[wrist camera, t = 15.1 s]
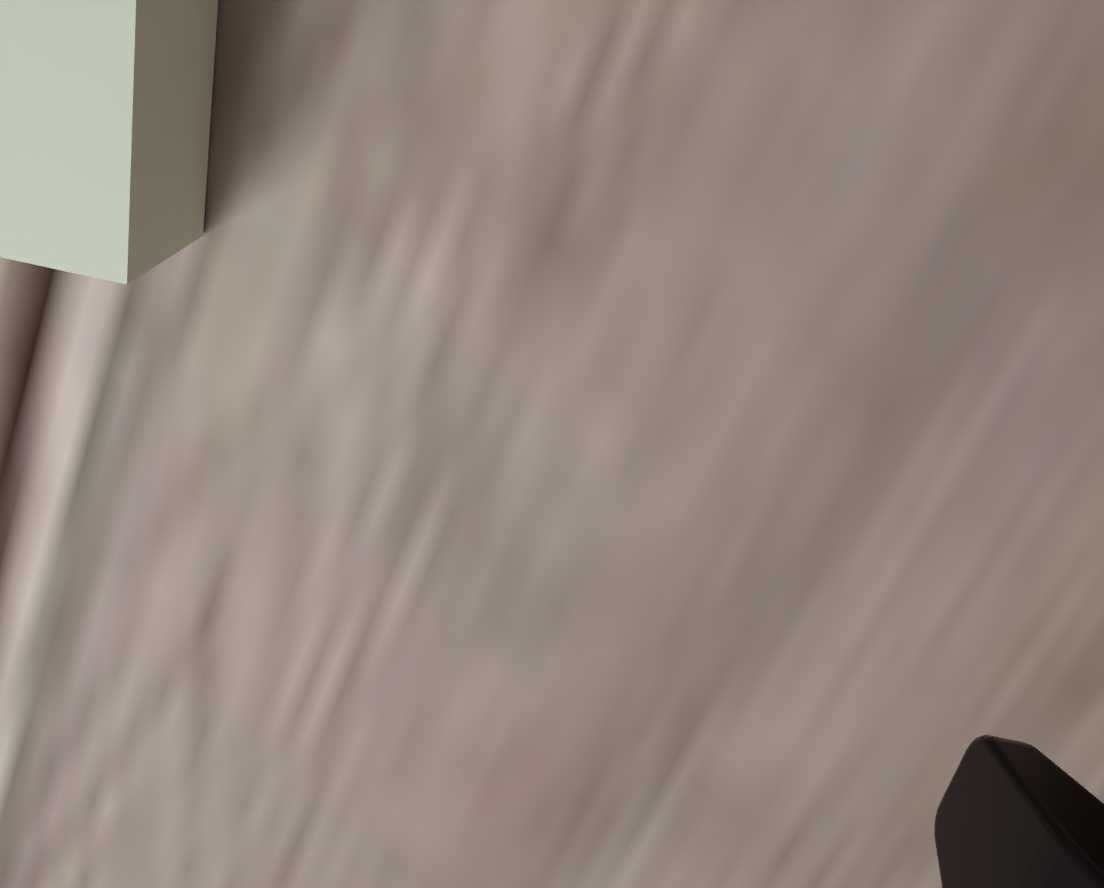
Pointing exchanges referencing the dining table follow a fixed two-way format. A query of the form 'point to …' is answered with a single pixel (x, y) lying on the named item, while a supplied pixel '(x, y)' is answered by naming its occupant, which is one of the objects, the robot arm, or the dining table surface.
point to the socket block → (104, 131)
